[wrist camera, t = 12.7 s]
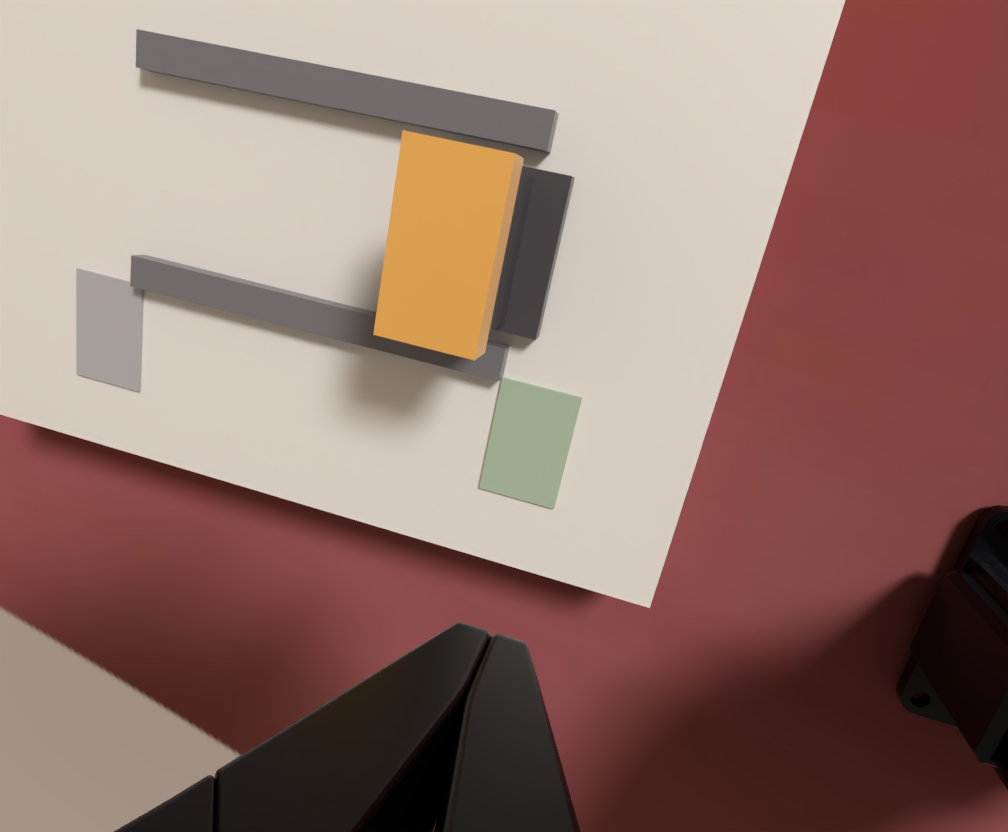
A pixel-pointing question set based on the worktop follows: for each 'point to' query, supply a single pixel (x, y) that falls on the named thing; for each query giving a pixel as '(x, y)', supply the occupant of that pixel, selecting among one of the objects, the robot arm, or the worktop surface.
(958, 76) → the worktop surface
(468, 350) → the breaker toggle
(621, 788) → the worktop surface
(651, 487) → the breaker box
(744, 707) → the worktop surface
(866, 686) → the worktop surface
